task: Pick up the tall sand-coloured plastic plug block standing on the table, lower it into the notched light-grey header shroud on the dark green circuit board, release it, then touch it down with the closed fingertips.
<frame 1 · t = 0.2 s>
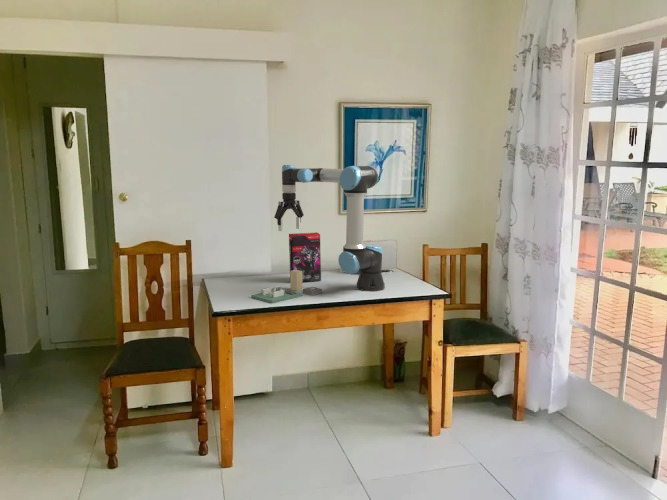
hand: (289, 229, 304), 28 cm above the table, fingers open, 13 cm apart
graphics card box: (305, 281, 302), on the table
fan block: (312, 292, 276), on the table
network device: (376, 273, 325), on the table
board: (277, 296, 267), on the table
plug: (296, 289, 282), on the table
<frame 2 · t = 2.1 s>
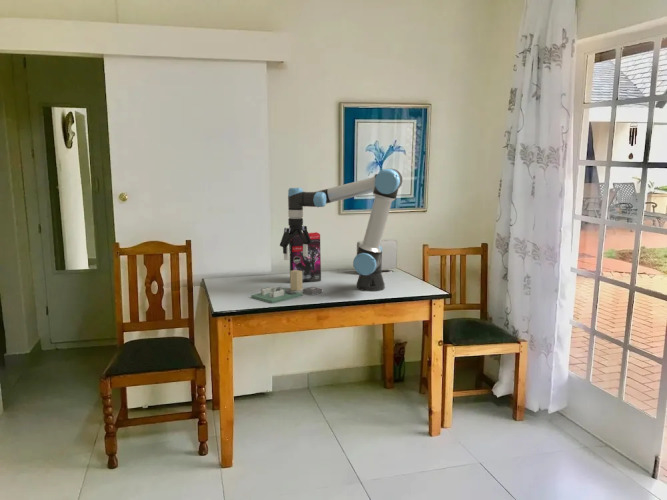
hand: (295, 258, 280), 17 cm above the table, fingers open, 13 cm apart
nothing on the table moved.
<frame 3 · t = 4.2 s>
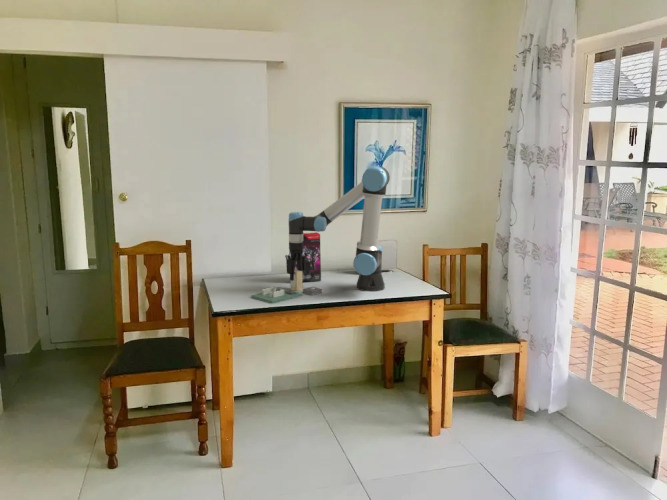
hand: (296, 285, 282), 2 cm above the table, fingers closed on plug, 4 cm apart
plug: (296, 289, 282), on the table, touching gripper
everything else where it was.
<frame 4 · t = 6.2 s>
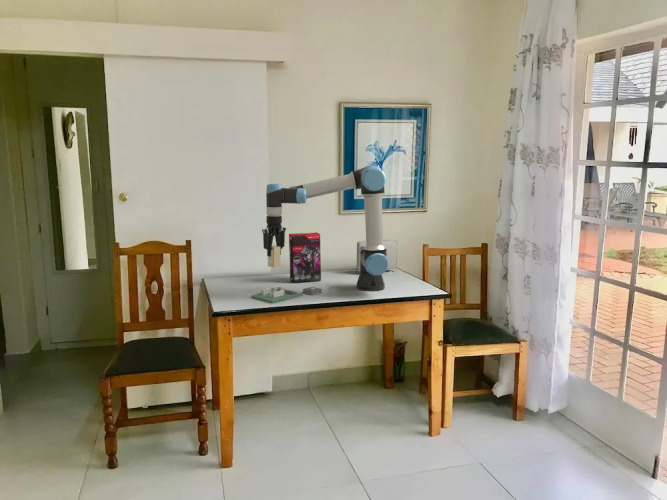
hand: (274, 262, 266), 17 cm above the table, fingers closed on plug, 4 cm apart
plug: (274, 266, 266), point 15 cm above the table, touching gripper
everything else where it was.
when the fingers open (4 cm above the table, at t = 8.3 s): plug drops 1 cm, resting on board.
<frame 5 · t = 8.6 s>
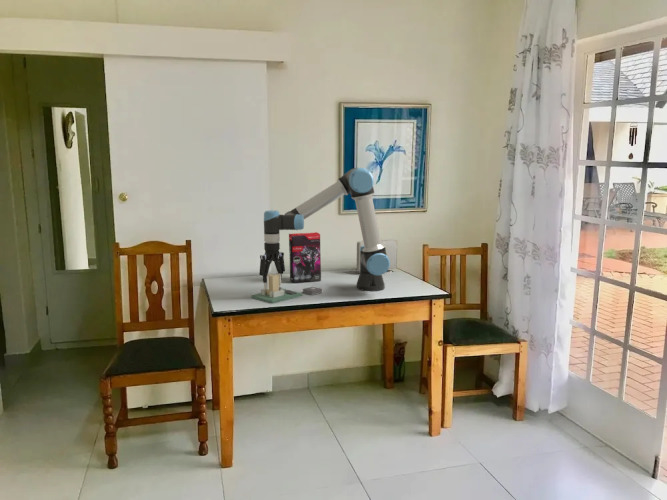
hand: (272, 287, 266), 5 cm above the table, fingers open, 7 cm apart
plug: (272, 294, 266), point 1 cm above the table, touching board
everything else where it was.
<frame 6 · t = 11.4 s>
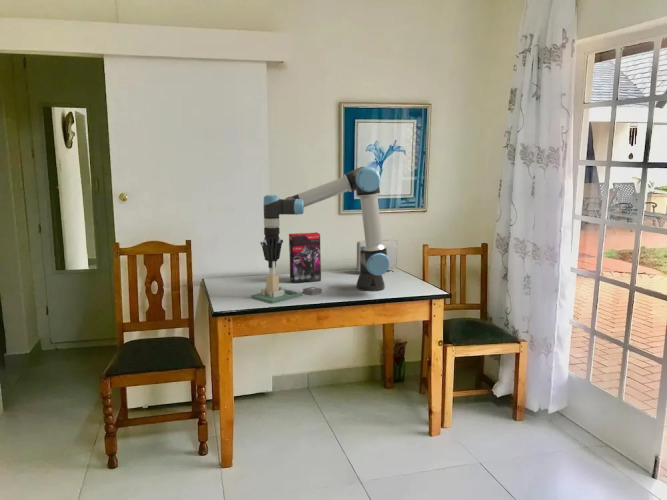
hand: (272, 274, 265), 12 cm above the table, fingers closed
nothing on the table moved.
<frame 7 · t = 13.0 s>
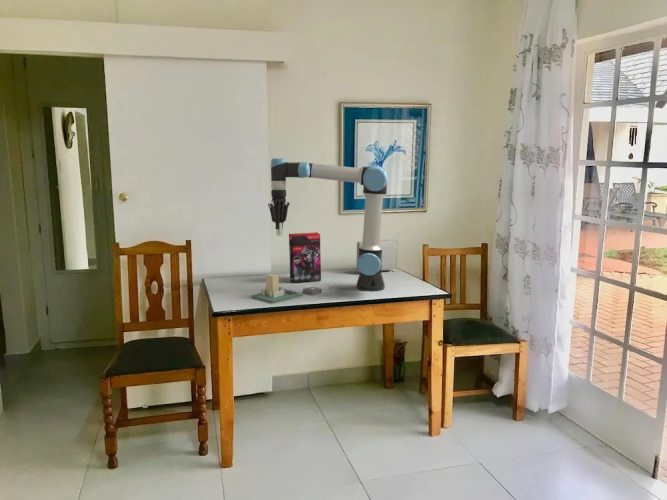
hand: (279, 235, 274), 29 cm above the table, fingers closed
nothing on the table moved.
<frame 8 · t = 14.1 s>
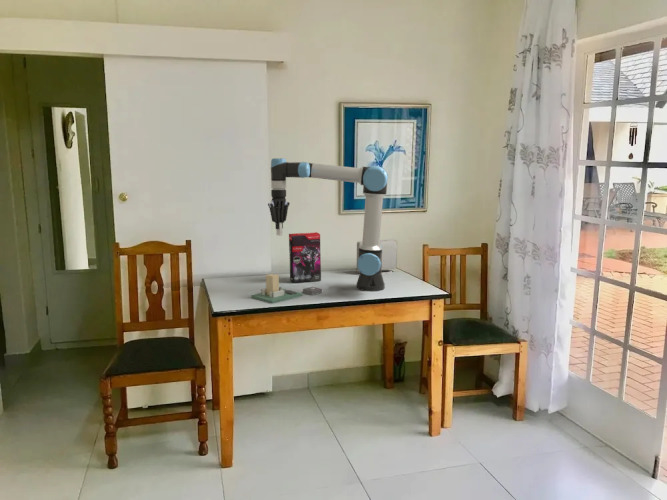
hand: (279, 235, 274), 29 cm above the table, fingers closed
nothing on the table moved.
at the end: plug 0.1 cm from the target spot on the board, point 1.2 cm above the board's base; plug tilted 0°; the gripper is holding nothing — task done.
